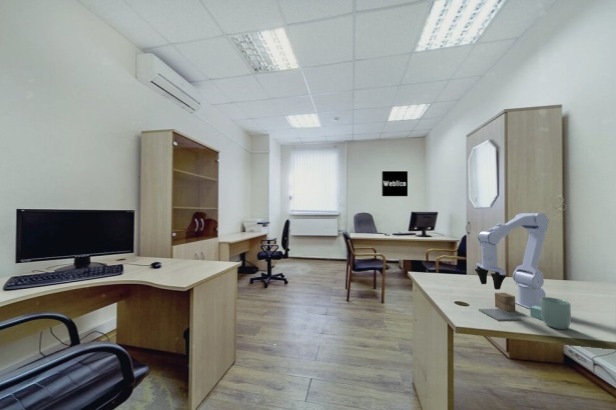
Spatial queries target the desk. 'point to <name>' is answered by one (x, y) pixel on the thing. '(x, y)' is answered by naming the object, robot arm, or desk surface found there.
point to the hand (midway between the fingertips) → (490, 286)
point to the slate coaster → (499, 314)
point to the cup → (556, 312)
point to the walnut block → (505, 301)
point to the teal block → (536, 312)
